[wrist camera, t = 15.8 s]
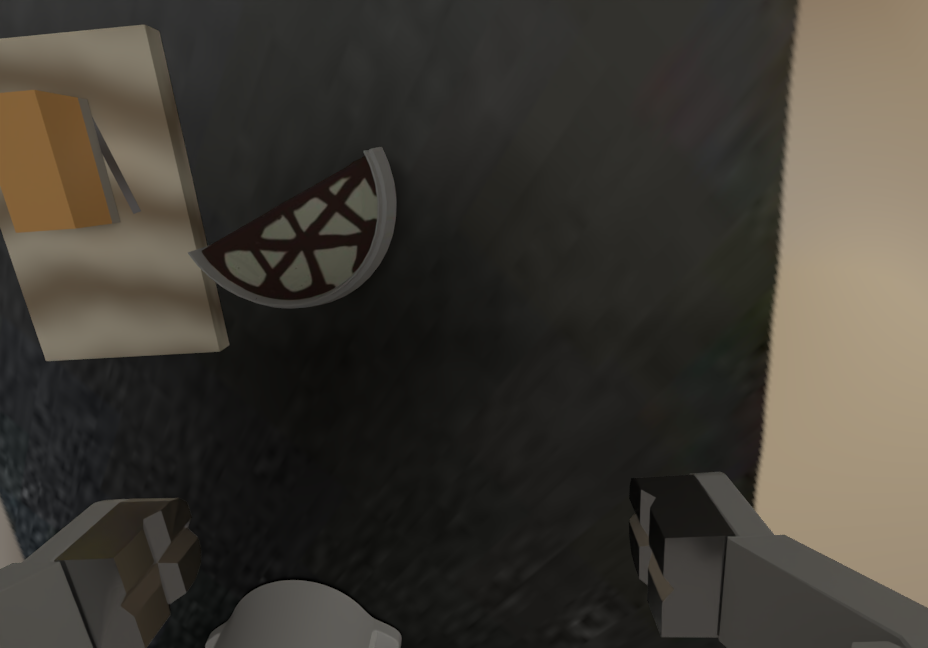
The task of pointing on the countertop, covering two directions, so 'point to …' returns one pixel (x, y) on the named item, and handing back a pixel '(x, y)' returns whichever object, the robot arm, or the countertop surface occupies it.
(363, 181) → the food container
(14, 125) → the block
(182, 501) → the robot arm
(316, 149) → the countertop surface
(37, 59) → the birch board
